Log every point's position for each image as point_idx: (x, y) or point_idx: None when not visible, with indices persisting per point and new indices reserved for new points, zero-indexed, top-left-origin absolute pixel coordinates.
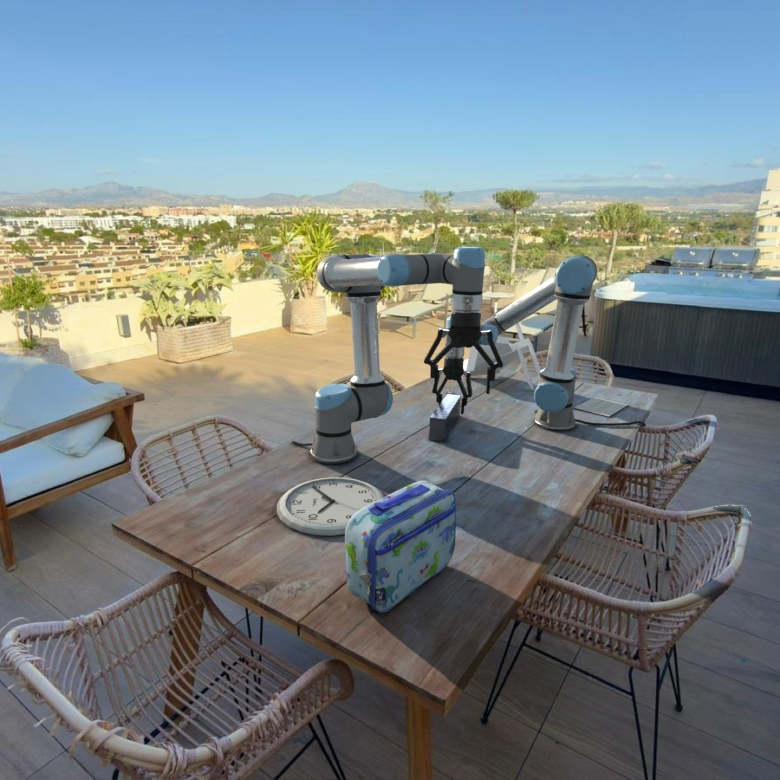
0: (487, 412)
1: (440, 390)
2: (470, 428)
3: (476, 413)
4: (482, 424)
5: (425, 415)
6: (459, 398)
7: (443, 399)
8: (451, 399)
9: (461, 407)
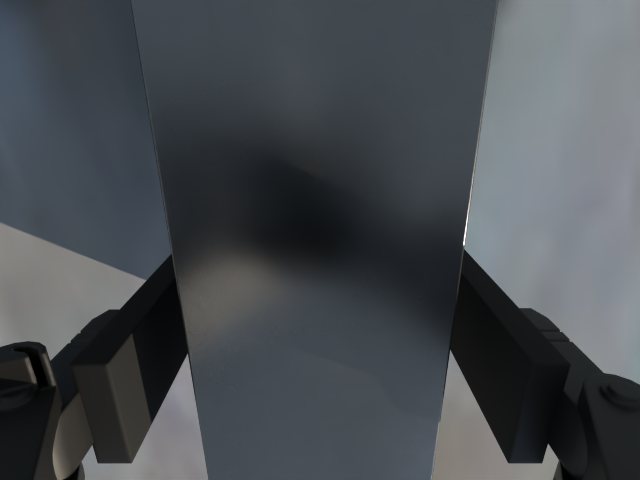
0: (91, 455)
1: (632, 476)
2: (61, 43)
3: (156, 415)
4: (9, 201)
5: (557, 240)
6: (204, 423)
7: (456, 253)
8: (304, 307)
9: (171, 278)
